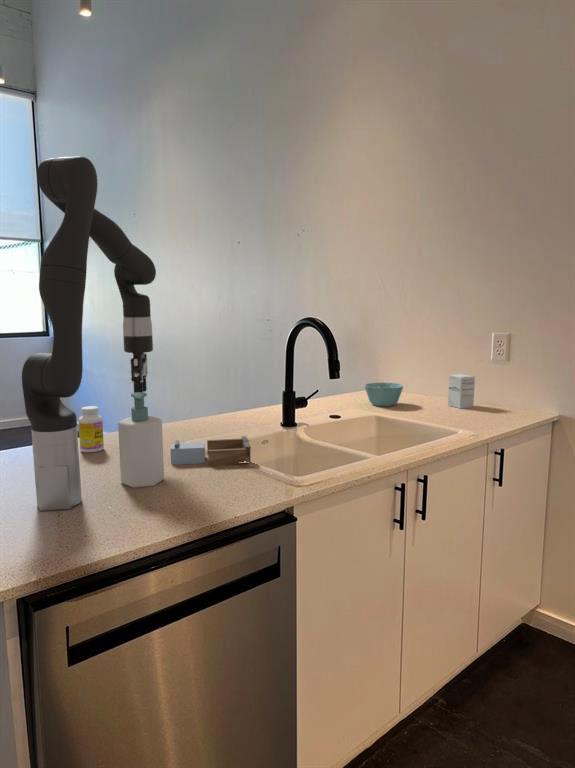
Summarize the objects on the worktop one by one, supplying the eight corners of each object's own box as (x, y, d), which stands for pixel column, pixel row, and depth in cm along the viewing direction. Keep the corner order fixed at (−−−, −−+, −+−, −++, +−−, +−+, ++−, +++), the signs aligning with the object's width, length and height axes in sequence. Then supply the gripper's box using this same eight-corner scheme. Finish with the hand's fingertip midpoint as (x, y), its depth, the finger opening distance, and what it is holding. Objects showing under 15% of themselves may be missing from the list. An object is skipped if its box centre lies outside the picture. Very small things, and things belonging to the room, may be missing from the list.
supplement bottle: (96, 453, 167) (94, 410, 165) (75, 452, 168) (73, 409, 166) (108, 447, 173) (105, 405, 171) (88, 446, 174) (85, 404, 172)
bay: (250, 463, 156) (250, 446, 156) (208, 465, 155) (208, 449, 154) (246, 451, 168) (246, 436, 167) (207, 453, 166) (207, 437, 165)
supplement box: (447, 405, 234) (448, 374, 232) (461, 404, 237) (462, 373, 235) (459, 408, 227) (461, 377, 225) (474, 407, 230) (475, 375, 228)
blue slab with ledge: (204, 463, 157) (204, 444, 156) (171, 465, 156) (170, 445, 155) (204, 457, 163) (204, 438, 162) (172, 458, 162) (171, 439, 161)
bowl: (357, 402, 242) (358, 382, 240) (391, 400, 246) (392, 381, 245) (374, 409, 227) (374, 388, 226) (409, 407, 232) (410, 386, 230)
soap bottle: (121, 489, 136) (116, 397, 133) (121, 477, 145) (116, 391, 142) (165, 485, 139) (161, 395, 136) (163, 473, 148) (159, 389, 144)
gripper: (149, 335, 147) (152, 398, 150) (154, 332, 161) (157, 389, 163) (119, 336, 146) (122, 399, 149) (127, 332, 160) (130, 390, 163)
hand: (140, 394), depth 156 cm, fingers open, 8 cm apart
